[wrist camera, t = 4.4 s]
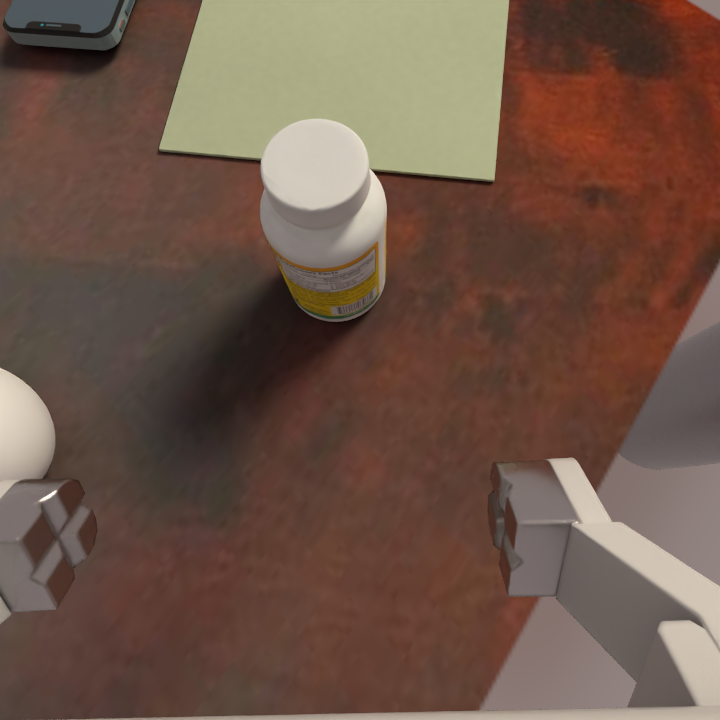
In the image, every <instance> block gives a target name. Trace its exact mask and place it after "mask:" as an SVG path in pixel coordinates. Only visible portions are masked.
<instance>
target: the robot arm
mask: <svg viewBox="0 0 720 720" xmlns="http://www.w3.org/2000/svg"><path fill="white" fill-rule="evenodd" d="M490 480H491V483H492V486H493V489H494V490H493V491H492V492H491V493H490V494H489V495H488V522H489V528H490V533H491V537H492V541H493V545H494V546H495V547H497V548H498V549H499V550H500V561H499V566H500V570H501V573H502V577H503V580H504V583H505V587H506V590H507V594H508V596H556V599H557V600H558V601H559V602H560V603H561V604H562V605H563V606H564V608H565V609H566V610H567V611H569V613H570V614H571V615H572V616H573V617H574V618H575V619H576V620H577V621H578V622H579V623H580V624H581V625H582V626H583V627H584V628H585V629H586V630H587V631H588V632H589V633H590V635H591V636H592V637H593V638H594V639H595V640H596V641H597V642H598V643H599V644H600V645H601V646H602V647H603V648H604V649H605V650H606V651H607V652H608V653H609V654H610V655H611V656H612V657H613V658H614V659H615V660H616V661H617V662H618V664H619V665H620V666H621V667H622V668H623V669H624V670H625V671H626V672H627V673H628V674H629V675H630V676H631V677H632V678H633V679H634V680H635V681H636V682H637V684H636V686H635V689H634V692H633V694H632V697H631V699H630V702H629V705H628V707H627V708H592V709H590V708H589V709H541V710H496V711H495V710H493V711H445V712H397V713H350V714H303V715H255V716H209V717H162V718H115V719H68V720H720V587H719V586H718V585H717V584H715V583H713V582H712V581H710V580H709V579H707V578H706V577H704V576H703V575H701V574H700V573H698V572H696V571H695V570H693V569H692V568H690V567H689V566H687V565H686V564H684V563H683V562H681V561H680V560H678V559H677V558H675V557H673V556H672V555H670V554H669V553H667V552H666V551H664V550H662V549H661V548H660V547H658V546H657V545H655V544H654V543H652V542H651V541H649V540H648V539H646V538H644V537H643V536H641V535H640V534H638V533H637V532H635V531H633V530H632V529H630V528H629V527H628V526H626V525H625V524H623V523H621V522H612V521H611V519H610V517H609V515H608V514H607V512H606V510H605V509H604V507H603V505H602V503H601V502H600V500H599V498H598V496H597V495H596V493H595V491H594V489H593V488H592V486H591V484H590V482H589V481H588V479H587V477H586V476H585V474H584V472H583V470H582V469H581V467H580V465H579V463H578V462H577V461H576V460H575V459H574V458H559V459H546V460H529V461H507V462H493V464H492V467H491V474H490ZM84 494H85V492H84V490H83V488H82V486H81V484H80V482H79V481H78V480H75V479H71V478H65V479H23V480H0V624H1V623H2V622H4V621H5V620H6V619H7V618H8V617H9V616H10V615H11V612H21V611H38V610H55V609H57V608H58V606H59V605H60V603H61V601H62V599H63V598H64V596H65V594H66V593H67V591H68V589H69V588H70V586H71V584H72V583H73V581H74V579H75V574H74V569H73V568H74V567H76V566H77V565H78V564H80V563H81V562H82V561H84V560H85V559H86V558H87V557H88V555H89V554H90V552H91V550H92V548H93V546H94V543H95V539H96V534H97V523H96V518H95V515H94V513H93V510H92V509H90V508H89V507H88V506H86V505H85V504H84V503H82V502H81V501H82V499H83V496H84Z"/></svg>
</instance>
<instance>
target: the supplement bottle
mask: <svg viewBox="0 0 720 720" xmlns="http://www.w3.org/2000/svg"><path fill="white" fill-rule="evenodd" d="M261 177H262V181H263V184H264V187H265V189H264V191H263V194H262V198H261V203H260V218H261V223H262V227H263V231H264V234H265V236H266V238H267V241H268V243H269V245H270V247H271V249H272V252H273V254H274V256H275V258H276V261H277V263H278V265H279V268H280V270H281V272H282V275H283V277H284V279H285V282H286V284H287V286H288V288H289V290H290V292H291V294H292V296H293V298H294V300H295V302H296V303H297V305H298V306H299V307H300V308H301V309H302V310H303V311H304V312H306V313H307V314H309V315H311V316H312V317H315V318H317V319H320V320H324V321H329V322H340V321H347V320H351V319H354V318H356V317H358V316H360V315H362V314H364V313H365V312H367V311H368V310H369V309H370V308H371V307H372V306H373V305H374V304H375V303H376V302H377V300H378V298H379V297H380V295H381V293H382V291H383V288H384V284H385V276H386V222H387V205H386V198H385V194H384V191H383V188H382V186H381V183H380V182H379V180H378V178H377V177H376V175H375V174H374V173H373V172H372V170H371V169H370V168H369V158H368V153H367V150H366V148H365V146H364V143H363V142H362V140H361V139H360V137H359V136H358V135H357V134H356V133H355V132H354V131H352V130H351V129H350V128H348V127H346V126H345V125H343V124H341V123H338V122H335V121H331V120H327V119H308V120H302V121H298V122H295V123H293V124H291V125H289V126H287V127H285V128H283V129H282V130H280V131H279V132H278V133H277V134H276V135H275V136H274V137H273V138H272V139H271V140H270V141H269V143H268V144H267V146H266V148H265V150H264V152H263V155H262V159H261Z"/></svg>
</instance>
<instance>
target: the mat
mask: <svg viewBox="0 0 720 720" xmlns="http://www.w3.org/2000/svg"><path fill="white" fill-rule="evenodd" d="M508 6H509V0H203V1H202V5H201V8H200V11H199V15H198V18H197V21H196V25H195V28H194V32H193V35H192V38H191V42H190V45H189V48H188V52H187V55H186V59H185V62H184V65H183V69H182V72H181V76H180V79H179V82H178V86H177V89H176V92H175V96H174V99H173V103H172V106H171V109H170V113H169V116H168V119H167V123H166V126H165V130H164V133H163V136H162V140H161V143H160V146H159V150H160V151H162V152H173V153H184V154H195V155H206V156H217V157H227V158H238V159H249V160H260V161H261V159H262V155H263V152H264V150H265V148H266V146H267V144H268V143H269V141H270V140H271V139H272V138H273V137H274V136H275V135H276V134H277V133H278V132H279V131H280V130H282V129H283V128H285V127H287V126H289V125H291V124H293V123H295V122H298V121H302V120H308V119H327V120H331V121H335V122H338V123H341V124H343V125H345V126H346V127H348V128H350V129H351V130H352V131H354V132H355V133H356V134H357V135H358V136H359V137H360V139H361V140H362V142H363V143H364V146H365V148H366V150H367V153H368V158H369V168H370V169H371V170H372V171H379V172H390V173H401V174H411V175H422V176H433V177H444V178H455V179H465V180H476V181H487V182H494V179H495V167H496V155H497V142H498V130H499V117H500V105H501V93H502V80H503V68H504V56H505V43H506V31H507V18H508Z"/></svg>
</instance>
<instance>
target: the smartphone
mask: <svg viewBox="0 0 720 720" xmlns="http://www.w3.org/2000/svg"><path fill="white" fill-rule="evenodd" d="M134 2H135V0H13V1H12V3H11V5H10V7H9V9H8V11H7V13H6V15H5V18H4V23H3V26H4V28H5V30H6V31H7V32H8V34H9V35H10V36H11V38H12V39H13V40H14V41H15V42H16V43H19V44H23V45H34V46H48V47H62V48H76V49H90V50H103V51H104V50H108V49H110V48H113V47H114V46H116V45H117V44H118V43H119V42H120V40H121V37H122V34H123V32H124V29H125V26H126V24H127V21H128V18H129V16H130V13H131V10H132V8H133V5H134Z"/></svg>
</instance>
